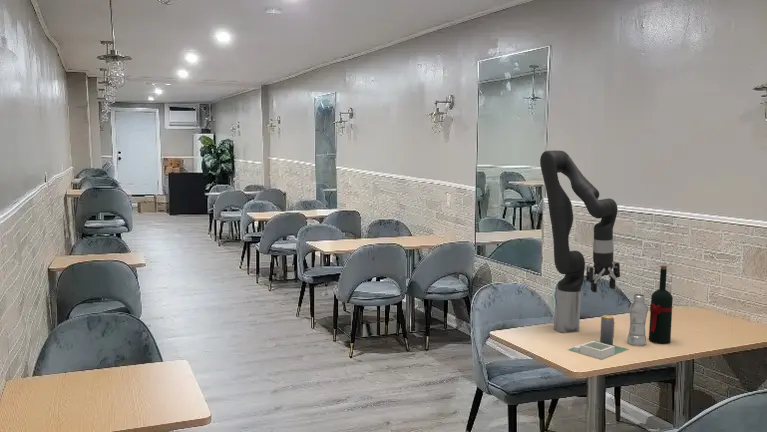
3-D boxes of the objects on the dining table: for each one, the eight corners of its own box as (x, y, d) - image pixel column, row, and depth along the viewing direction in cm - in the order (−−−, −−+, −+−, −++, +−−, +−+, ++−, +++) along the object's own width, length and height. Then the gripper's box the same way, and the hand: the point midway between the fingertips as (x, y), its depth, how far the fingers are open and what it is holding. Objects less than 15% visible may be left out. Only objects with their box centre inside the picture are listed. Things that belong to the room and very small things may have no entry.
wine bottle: (641, 341, 251) (645, 265, 248) (655, 337, 257) (659, 263, 254) (660, 346, 245) (665, 269, 242) (674, 341, 251) (678, 266, 248)
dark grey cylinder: (604, 349, 237) (606, 318, 236) (597, 345, 241) (598, 315, 240) (616, 348, 238) (617, 317, 237) (609, 344, 242) (610, 314, 241)
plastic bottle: (623, 344, 247) (626, 293, 245) (640, 343, 248) (643, 293, 246) (631, 349, 241) (634, 297, 239) (649, 349, 241) (651, 297, 239)
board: (566, 353, 235) (567, 341, 235) (595, 343, 247) (595, 332, 247) (601, 362, 225) (601, 351, 224) (629, 352, 237) (629, 341, 236)
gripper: (611, 245, 254) (611, 284, 257) (581, 250, 249) (581, 290, 252) (624, 249, 247) (624, 289, 250) (594, 254, 242) (594, 295, 245)
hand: (603, 290), depth 251 cm, fingers open, 8 cm apart
